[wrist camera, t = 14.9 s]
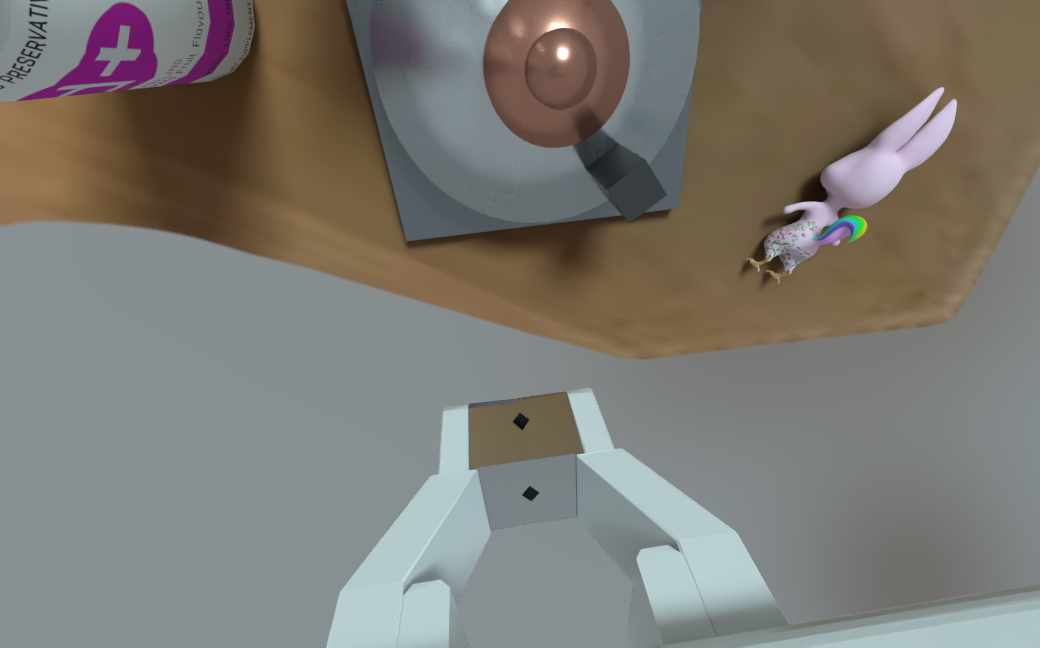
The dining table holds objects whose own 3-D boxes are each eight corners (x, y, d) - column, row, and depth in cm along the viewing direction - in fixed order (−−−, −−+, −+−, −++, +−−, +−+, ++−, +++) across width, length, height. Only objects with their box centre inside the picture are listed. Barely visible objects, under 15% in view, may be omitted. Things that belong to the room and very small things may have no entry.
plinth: (408, 236, 31) (406, 241, 30) (311, -156, 20) (304, -166, 20) (673, 204, 32) (678, 208, 31) (715, -193, 21) (726, -203, 20)
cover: (536, 160, 26) (549, 182, 22) (455, 59, 23) (451, 60, 19) (630, 75, 24) (666, 79, 20) (556, -50, 21) (578, -77, 17)
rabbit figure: (775, 271, 38) (954, 112, 29) (810, 313, 33) (1035, 140, 25) (725, 241, 36) (902, 61, 27) (756, 282, 31) (980, 81, 23)
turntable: (515, 261, 32) (526, 308, 26) (308, 39, 23) (253, 34, 18) (732, 85, 27) (806, 94, 21) (567, -279, 18) (612, -435, 12)
